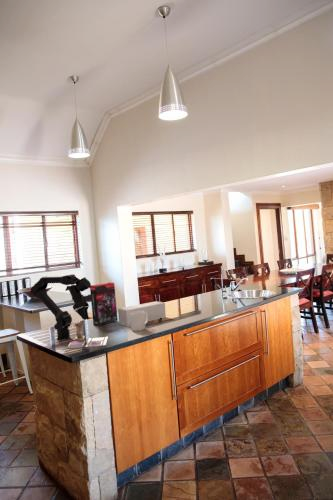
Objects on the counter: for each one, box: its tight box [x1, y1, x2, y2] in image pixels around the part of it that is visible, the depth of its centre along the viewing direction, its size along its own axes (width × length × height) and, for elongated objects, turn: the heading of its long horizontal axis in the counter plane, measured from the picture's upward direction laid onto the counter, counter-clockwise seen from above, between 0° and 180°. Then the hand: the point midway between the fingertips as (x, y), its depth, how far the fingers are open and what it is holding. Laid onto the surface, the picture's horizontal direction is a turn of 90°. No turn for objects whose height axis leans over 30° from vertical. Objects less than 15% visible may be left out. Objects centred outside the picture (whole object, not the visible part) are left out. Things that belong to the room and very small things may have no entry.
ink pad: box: [67, 340, 86, 349], centre depth 205 cm, size 8×9×2 cm
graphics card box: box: [89, 281, 119, 327], centre depth 257 cm, size 17×7×27 cm, turn 137°
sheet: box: [84, 336, 109, 348], centre depth 210 cm, size 11×18×1 cm, turn 4°
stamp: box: [74, 321, 86, 341], centre depth 216 cm, size 5×5×10 cm
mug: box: [130, 311, 149, 333], centre depth 233 cm, size 12×9×11 cm
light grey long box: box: [117, 300, 167, 327], centre depth 258 cm, size 32×11×11 cm, turn 128°
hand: (86, 319), depth 216 cm, fingers open, 9 cm apart
